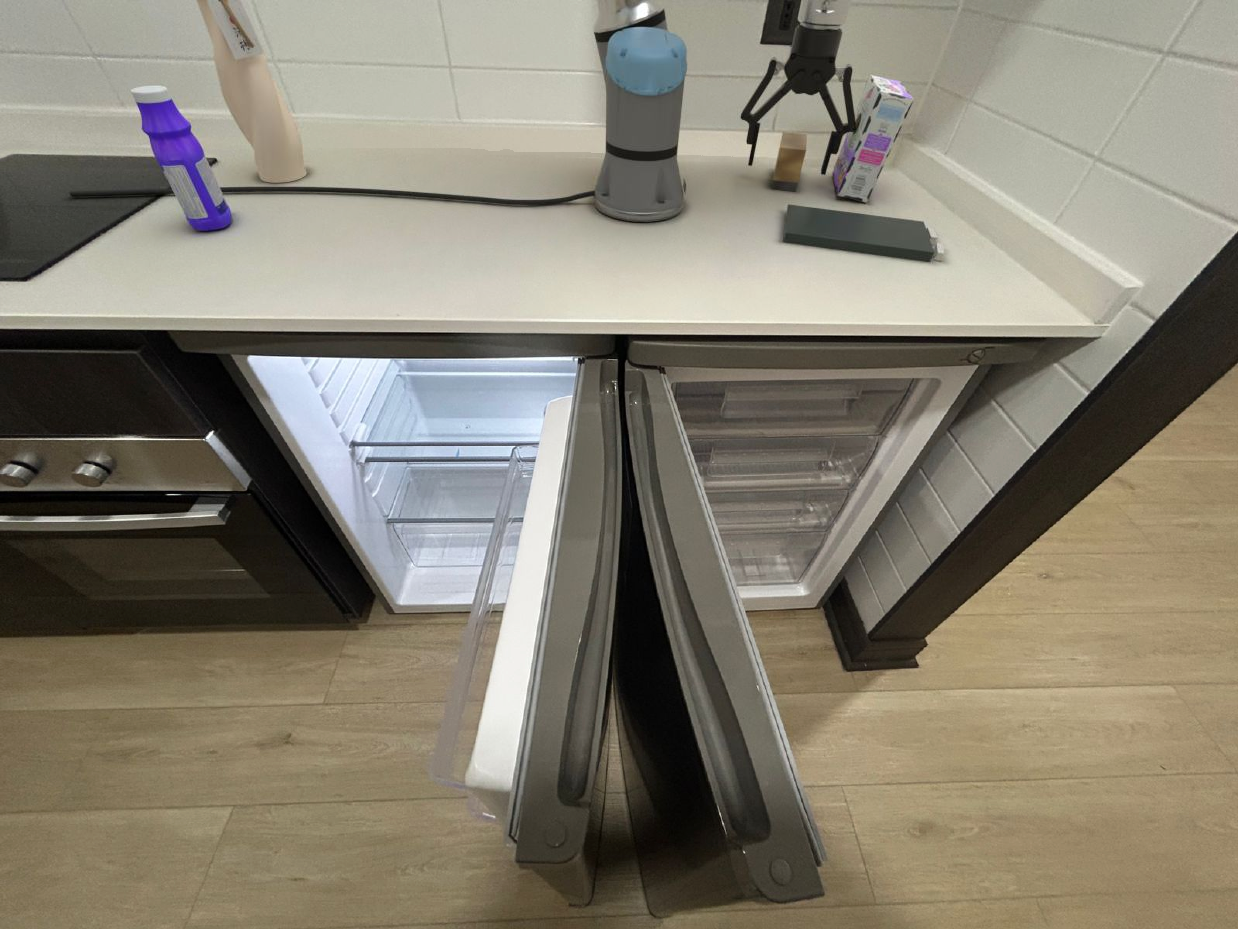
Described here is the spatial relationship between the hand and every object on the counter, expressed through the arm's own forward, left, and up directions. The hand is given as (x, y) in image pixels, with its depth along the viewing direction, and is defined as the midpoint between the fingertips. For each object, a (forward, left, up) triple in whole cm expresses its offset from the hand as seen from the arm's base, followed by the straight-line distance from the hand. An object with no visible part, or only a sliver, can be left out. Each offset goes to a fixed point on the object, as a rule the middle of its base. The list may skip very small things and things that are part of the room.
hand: (786, 168), depth 104 cm
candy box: (+12, 0, -2) cm, 12 cm away
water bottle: (-87, -29, -2) cm, 92 cm away
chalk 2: (+24, -25, -2) cm, 35 cm away
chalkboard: (+12, -22, -2) cm, 25 cm away
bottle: (-84, -50, -2) cm, 98 cm away
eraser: (0, 0, -2) cm, 2 cm away
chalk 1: (+24, -19, -2) cm, 30 cm away
